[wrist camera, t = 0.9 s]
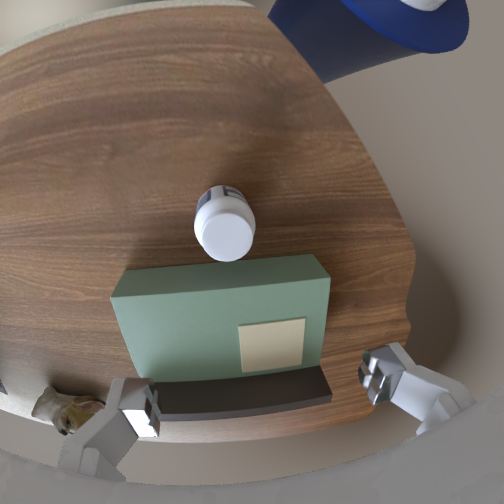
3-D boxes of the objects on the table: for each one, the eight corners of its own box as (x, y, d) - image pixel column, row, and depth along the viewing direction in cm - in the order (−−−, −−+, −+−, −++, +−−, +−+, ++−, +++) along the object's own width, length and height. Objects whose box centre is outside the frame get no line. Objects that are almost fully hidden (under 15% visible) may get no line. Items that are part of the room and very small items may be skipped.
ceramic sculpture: (20, 405, 27) (105, 432, 32) (35, 369, 35) (112, 390, 39) (36, 436, 31) (110, 457, 35) (46, 402, 39) (114, 421, 43)
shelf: (124, 270, 31) (94, 327, 21) (312, 253, 33) (351, 304, 23) (150, 358, 36) (139, 421, 26) (305, 343, 39) (330, 402, 29)
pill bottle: (204, 238, 31) (202, 276, 23) (191, 192, 29) (182, 215, 21) (252, 225, 31) (267, 260, 23) (241, 179, 29) (253, 197, 21)
